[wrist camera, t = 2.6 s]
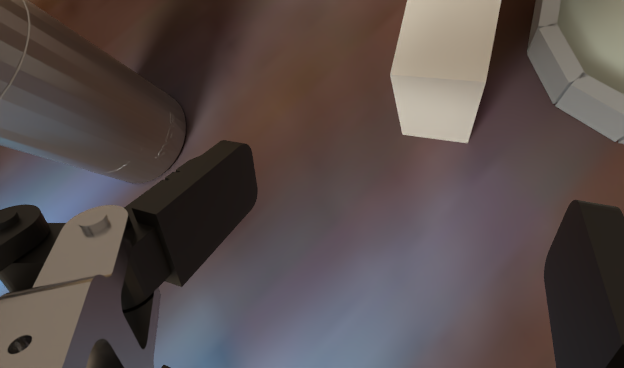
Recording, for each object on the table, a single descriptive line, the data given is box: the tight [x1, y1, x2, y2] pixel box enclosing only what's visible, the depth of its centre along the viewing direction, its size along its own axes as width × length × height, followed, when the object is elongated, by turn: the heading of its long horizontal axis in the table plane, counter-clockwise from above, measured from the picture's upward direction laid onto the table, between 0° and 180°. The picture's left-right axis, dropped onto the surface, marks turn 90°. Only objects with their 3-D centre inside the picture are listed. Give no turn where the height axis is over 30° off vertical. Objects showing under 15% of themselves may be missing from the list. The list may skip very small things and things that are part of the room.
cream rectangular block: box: [390, 0, 501, 143], centre depth 23 cm, size 5×5×9 cm
